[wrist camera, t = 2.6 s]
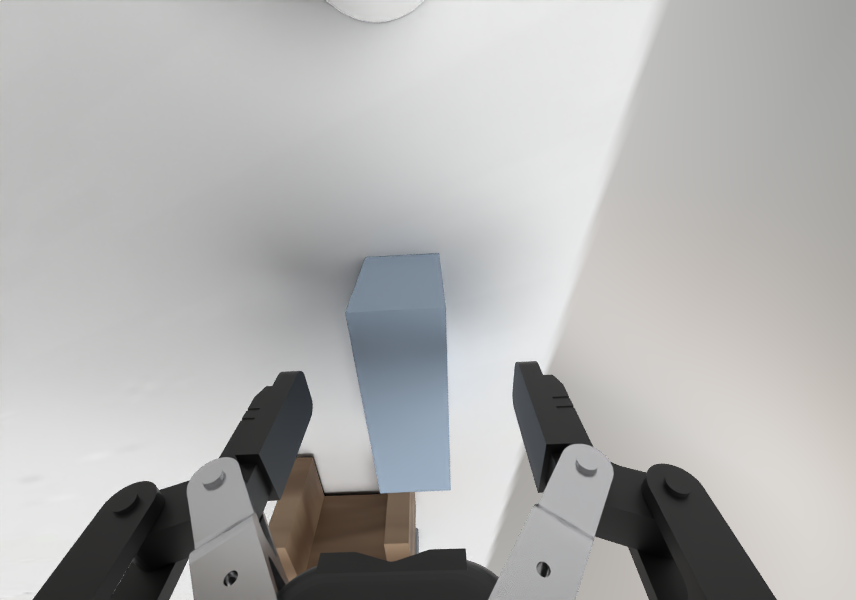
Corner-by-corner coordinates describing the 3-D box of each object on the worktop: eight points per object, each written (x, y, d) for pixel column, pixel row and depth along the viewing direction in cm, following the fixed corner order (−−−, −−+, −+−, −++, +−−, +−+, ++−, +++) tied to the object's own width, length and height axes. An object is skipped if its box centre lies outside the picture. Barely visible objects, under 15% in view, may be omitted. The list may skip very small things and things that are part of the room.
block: (292, 457, 26) (260, 548, 21) (411, 453, 26) (408, 543, 21) (311, 510, 30) (286, 600, 24) (415, 506, 30) (414, 595, 24)
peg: (366, 255, 19) (345, 312, 14) (438, 252, 19) (445, 307, 14) (388, 411, 25) (380, 493, 20) (444, 409, 25) (450, 490, 20)
